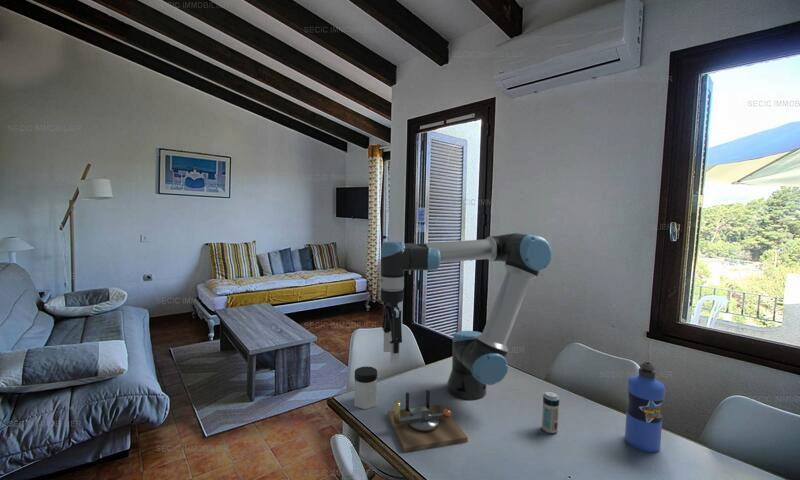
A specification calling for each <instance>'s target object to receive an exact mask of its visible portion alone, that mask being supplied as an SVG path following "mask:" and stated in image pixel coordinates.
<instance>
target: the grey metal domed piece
mask: <svg viewBox="0 0 800 480" xmlns="http://www.w3.org/2000/svg"><path fill="white" fill-rule="evenodd" d="M400 410H401V401H400V400H395V401H394V402H393V411H394V423H395V424H397V425H399V424H405V423H408V425H409V427H410V428H412V429H413V430H416V431H419V432H430V431H433V430H435V429H437V428H438V426H439V418H442V417H445V418H450V417H451V416H452V411H451V409H449V408H446V409H445V410H444V411H443V413H438V414H434V413H432V412H430V411H416V412H413V413H411V414H410V415H409V416H408V417H403V418H400Z"/></svg>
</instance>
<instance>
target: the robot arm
mask: <svg viewBox="0 0 800 480" xmlns="http://www.w3.org/2000/svg"><path fill="white" fill-rule="evenodd" d="M552 251H553V250H552V247H551V246H550V242H548V240H546V239H545V238H544V237H542V236H540V235H539V236H538V235H535V234H524V233H519V232H518V233H516V232H515V233H513V232H512V233H508V234H507V233H506V234H500V235H491V236H488V237H486V238H484V239H472V240H471V239H470V240H469V239H468V240H457V241H443V242H442V241H441V242H427V243H426V242H425V243H411V242H410V243H405V242H403V241H394V240H391V241H390V240H388V241H383V242H382V244H381V251H380V279H379V283H380V288H381V289H380V301H381V302H382V307H383V310H382V324H381V328H382V329H383V330H382V331H383V352H384V353H389V352H390V363H391V364H393V363H394V364H395V363H400V353H401V352H400V348H401V347H400V344H401V343H403V336H402V335H403V334H402V333H403V332H402V330H403V329H402V310H400V307H399V305H398V304H399V303H402V302H403V301H404V298H405V297H404V295H405V294H404V293H405V292H404V291H405V290H403V289H404V288H405V271H436V270H439V268H440V266H441V263H452V262H453V263H454V262H465V261H466V262H467V261H478V260H488V261H490V262H503V263H504V267H505V269H506V273H505V275H504V278H503V280H502V283H501V285H500V288H499V290H498V293H497V295H496V298H495V301H494V303H493V306H492V308H491V311H490V314H489V316H488V319H487V321H486V323H485V326H484V328H483V331H482V332H480V331H476V330H475V331H474V330H461V331H456V332H455V333H453V335H452V336H453V337H452V352H451V353H452V359H451V361H452V363H451V371H450V374H449V377H448V380H447V384H446V390H447V392H448V393H449V394H450V395H452V396H454V397H455V398H458V399H462V400H478V399H483V398H484V397H485V396H486V394H487V386H493V385H496V384H497V383H500V382H502V381H503V380H504V379H505V377H506V376H507V374H508V370H509V365H508V361H507V359H506V357H507V354H508V352H509V349H508V347H507V341H508V339H509V338H510V337H509V336H510V334H511V332H512V330H513V327H514V324H515V322H516V319H517V317H518V314H519V311H520V309H521V306H522V304H523V302H524V301H523V300H524V299H525V296H526V293H527V290H528V288H529V285H530V283H531V281H532V280H534V279H536V278H538V276H539V273H540V271H542V270H544V269H545V268H548V266H549V265H550V263H551V262H552V261H551V260H552V257H553V252H552Z"/></svg>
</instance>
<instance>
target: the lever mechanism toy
mask: <svg viewBox="0 0 800 480" xmlns="http://www.w3.org/2000/svg"><path fill="white" fill-rule="evenodd" d="M430 392H431V391H430V389H426V391H425V394H426V395H425V406H419V407H411V408H410V392H408V391H407V392H405V408H404V409H400V418H403V417H408V416H409V415H410V414H411V413H413V412H416V411H430V412H432V413H434V414H438V413H443V411H444V410H445V409H447V408H446V407H445V406H444V404H443V403H440V404H432V405H430V399H431V397H430V395H431V393H430ZM386 416H387V418H388V420H389V423H390V425H391V427H392V429H393V432H394V434H395V436H396V438H397V440H398V442H399V444H400V446H401V449H402V451H403V453H404V454H406V453H412V452H416V451H417V452H418V451H421V450H423V451H424V450H428V449H434V448H441V447H446V446H451V445H458V444H459V445H460V444H463V443H468V440H469V438H468V436H467V435H466V433H465V432H464V431H463V429H462V428H461V426H460V425H459V424H458V423H457V421H456V420H455V418H454V417H453V416H452V415H451V417H450V418H445V417H442V418H439V426H438V428H437V429H435V430H433V431H430V432H419V431H416V430H413V429H412V428H410V427H409V425H408V423H405V424H399V425H397V424H395V423H394V410H389V411H388V410H387V411H386Z"/></svg>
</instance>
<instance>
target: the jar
mask: <svg viewBox="0 0 800 480" xmlns="http://www.w3.org/2000/svg"><path fill="white" fill-rule="evenodd" d="M353 384H354V386H353V387H354V390H353V391H354V394H353V395H354V396H353V397H354V398H353V400H354V401H353V405H354V407H355V408H359V409H362V410H368V409H372V408H374V407H377V402H378V401H377V396H378V395H377V392H378V391H377V390H378V389H377V387H378V386H377V384H378V370H377V369H376V368H375V367H373V366H359V367H357V368H356V369H355V370H354V383H353Z"/></svg>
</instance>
